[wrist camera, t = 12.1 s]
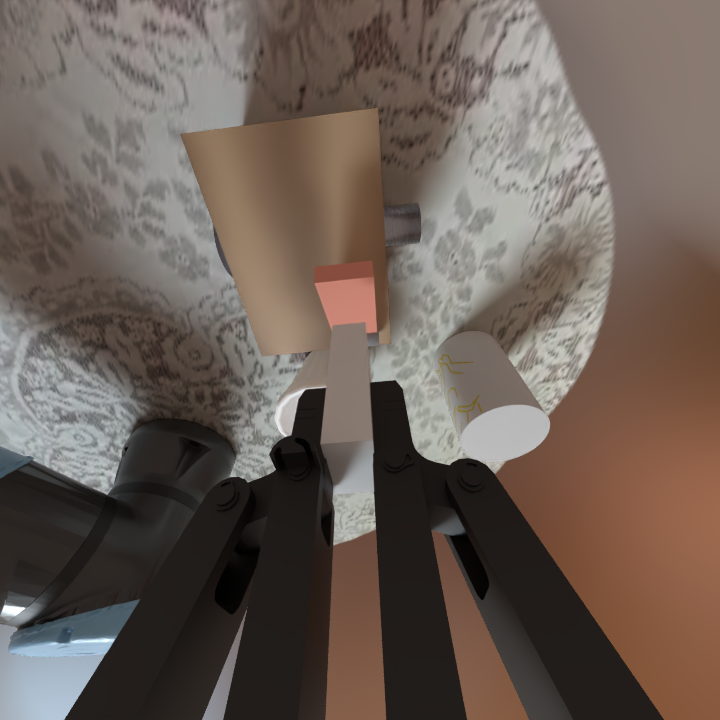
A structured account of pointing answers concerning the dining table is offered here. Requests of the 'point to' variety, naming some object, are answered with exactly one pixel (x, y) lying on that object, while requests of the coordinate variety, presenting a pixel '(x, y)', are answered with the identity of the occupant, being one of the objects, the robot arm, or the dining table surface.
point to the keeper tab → (349, 295)
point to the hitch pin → (398, 228)
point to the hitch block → (295, 217)
